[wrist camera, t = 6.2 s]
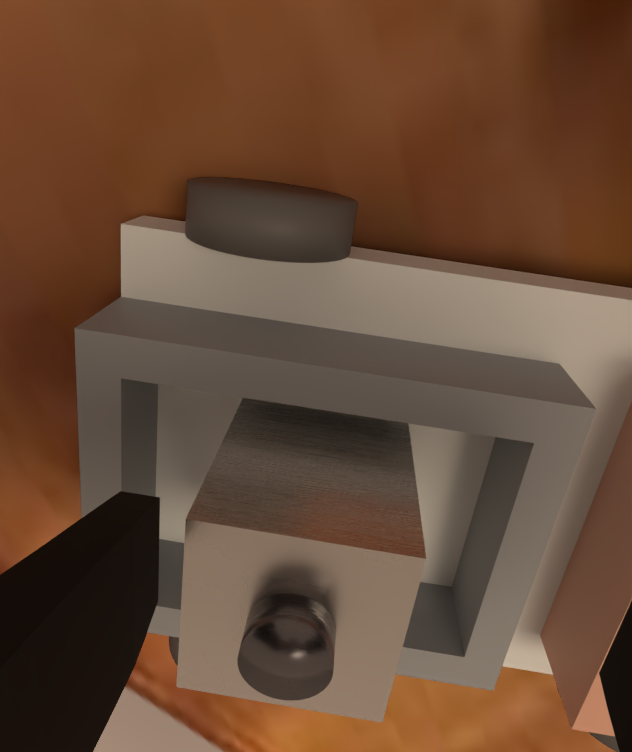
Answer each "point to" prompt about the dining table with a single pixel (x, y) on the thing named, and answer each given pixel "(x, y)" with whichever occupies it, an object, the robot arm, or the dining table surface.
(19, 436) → the dining table surface
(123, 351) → the chassis
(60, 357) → the dining table surface
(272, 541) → the block
